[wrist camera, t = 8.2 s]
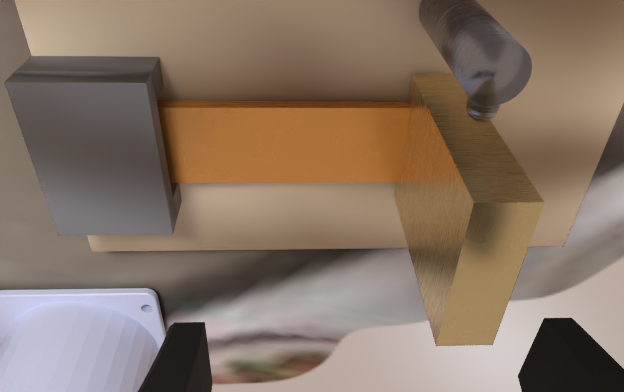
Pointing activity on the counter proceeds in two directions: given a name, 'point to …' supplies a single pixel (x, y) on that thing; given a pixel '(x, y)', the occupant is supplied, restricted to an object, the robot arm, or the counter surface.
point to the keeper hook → (477, 53)
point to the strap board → (284, 87)
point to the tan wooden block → (386, 168)
